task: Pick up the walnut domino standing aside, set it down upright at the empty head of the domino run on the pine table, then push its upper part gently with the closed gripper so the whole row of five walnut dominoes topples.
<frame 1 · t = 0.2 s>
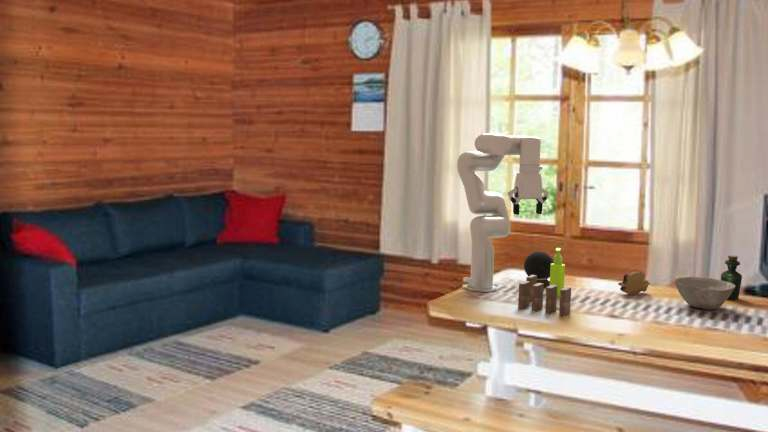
hand: (527, 214, 287), 36 cm above the table, tool pointing down, fingers open, 9 cm apart
domino 5: (564, 314, 281), on the table
potion bottle: (729, 298, 313), on the table
black ball on stand: (538, 285, 332), on the table
domino 4: (550, 312, 284), on the table
domino 3: (537, 310, 287), on the table
domino 1: (530, 300, 302), on the table
ceramic bowl: (702, 307, 296), on the table
domino 2: (523, 307, 290), on the table
soap dispenser: (556, 295, 312), on the table
wooden carving: (632, 294, 317), on the table
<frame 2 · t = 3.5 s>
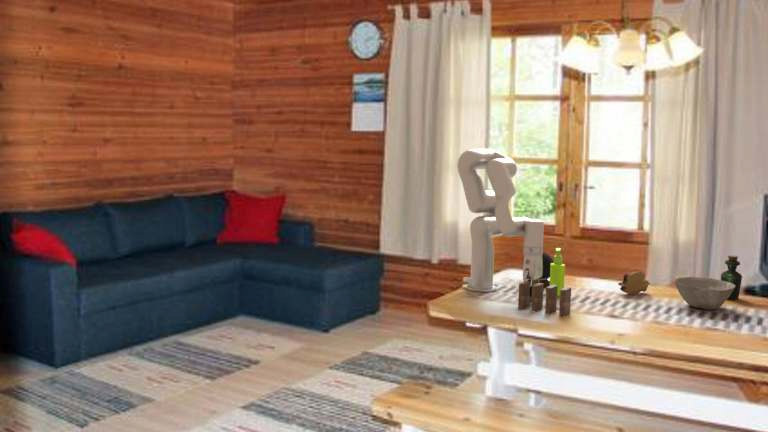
hand: (531, 294, 302), 3 cm above the table, tool pointing down, fingers closed on domino 1, 5 cm apart
domino 1: (530, 300, 302), on the table, touching gripper
everything else where it was.
when the fingers open (3 cm above the table, at t = 9.4 s): domino 1 stays where it is, on the table.
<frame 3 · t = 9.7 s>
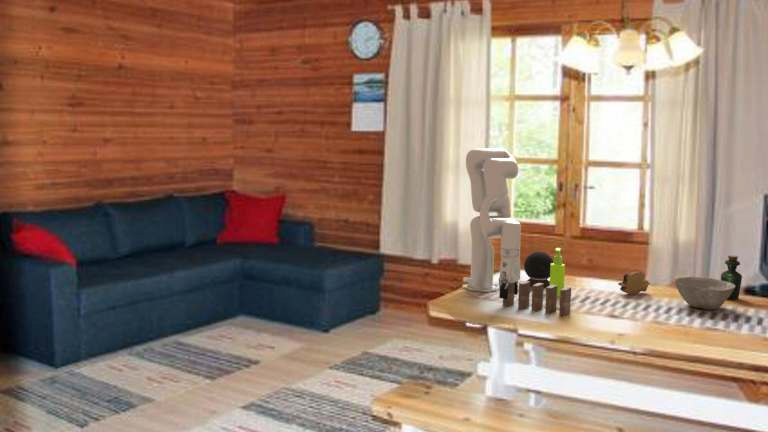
hand: (508, 296, 293), 4 cm above the table, tool pointing down, fingers open, 9 cm apart
domino 1: (508, 305, 294), on the table
everything else where it was.
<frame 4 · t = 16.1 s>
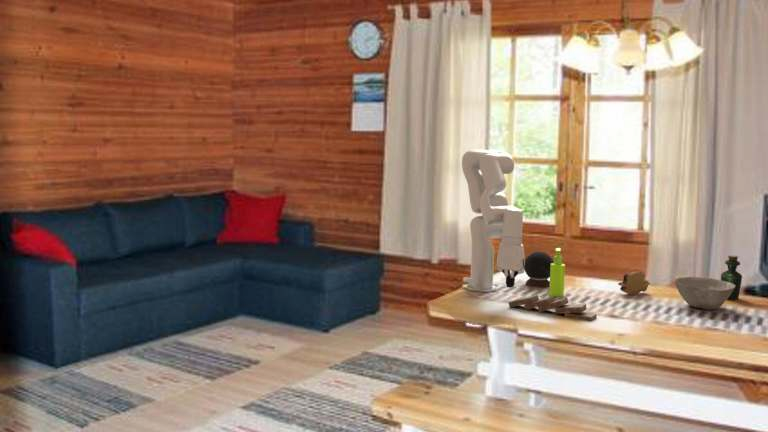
hand: (510, 286, 292), 7 cm above the table, tool pointing down, fingers closed
domino 5: (567, 314, 280), on the table, tilted 90°, touching domino 4
domino 4: (557, 309, 282), point 2 cm above the table, tilted 79°, touching domino 3, domino 5
domino 3: (541, 308, 286), point 1 cm above the table, tilted 66°, touching domino 4
domino 1: (512, 303, 293), point 1 cm above the table, tilted 70°, touching domino 2
domino 2: (527, 306, 289), point 1 cm above the table, tilted 67°, touching domino 1
everything else where it was.
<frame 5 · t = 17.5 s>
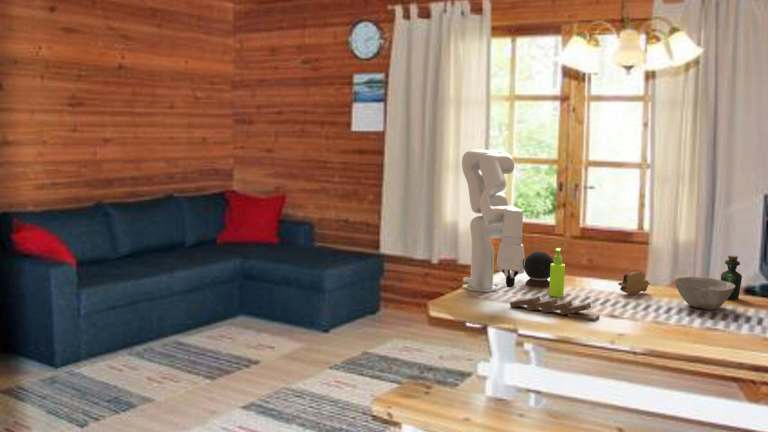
hand: (510, 286, 292), 7 cm above the table, tool pointing down, fingers closed
domino 5: (570, 314, 280), on the table, tilted 90°, touching domino 4
domino 4: (562, 311, 281), point 1 cm above the table, tilted 71°, touching domino 5
domino 3: (544, 308, 285), point 1 cm above the table, tilted 70°, touching domino 2
domino 2: (530, 306, 288), point 1 cm above the table, tilted 70°, touching domino 1, domino 3
everything else where it was.
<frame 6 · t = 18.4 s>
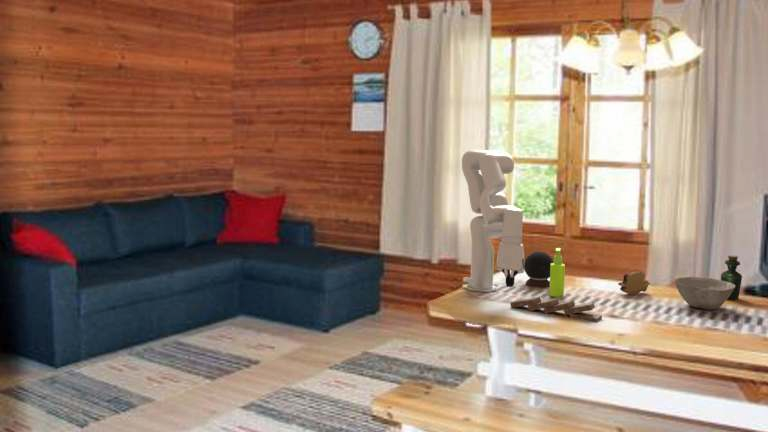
hand: (509, 286, 293), 8 cm above the table, tool pointing down, fingers closed
domino 5: (572, 315, 279), on the table, tilted 90°
domino 4: (566, 310, 280), point 2 cm above the table, tilted 72°, touching domino 3
domino 3: (547, 309, 284), point 1 cm above the table, tilted 69°, touching domino 2, domino 4
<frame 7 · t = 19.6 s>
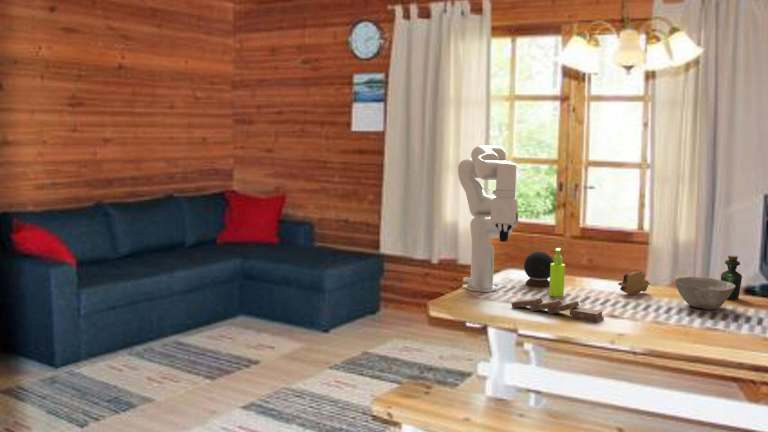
hand: (503, 241, 292), 25 cm above the table, tool pointing down, fingers closed
domino 5: (574, 315, 278), on the table, tilted 90°, touching domino 4
domino 4: (572, 310, 278), point 2 cm above the table, tilted 90°, touching domino 3, domino 5
domino 3: (552, 310, 283), point 1 cm above the table, tilted 68°, touching domino 2, domino 4
domino 2: (534, 307, 287), point 1 cm above the table, tilted 71°, touching domino 1, domino 3
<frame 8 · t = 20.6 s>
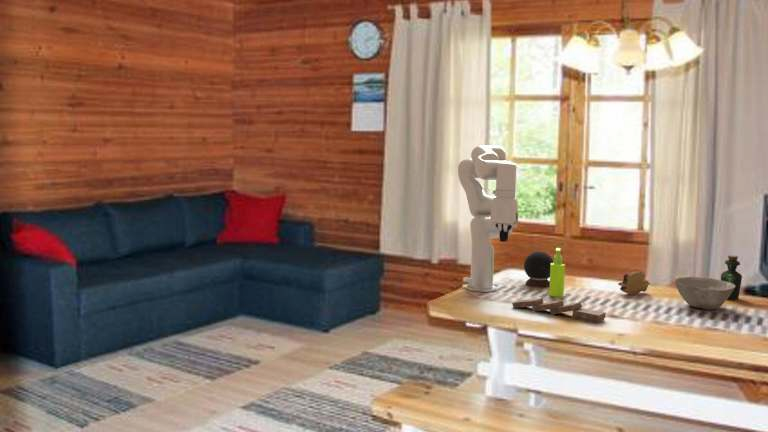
hand: (503, 241, 292), 25 cm above the table, tool pointing down, fingers closed
domino 4: (576, 311, 277), point 2 cm above the table, tilted 90°, touching domino 5
domino 3: (555, 310, 283), point 1 cm above the table, tilted 70°
domino 2: (536, 307, 287), point 1 cm above the table, tilted 72°, touching domino 1
at the end: domino 5 tilted 90°; domino 1 tilted 76°; domino 1 inside the target area (0.6 cm from its centre), point 1.0 cm above the table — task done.
